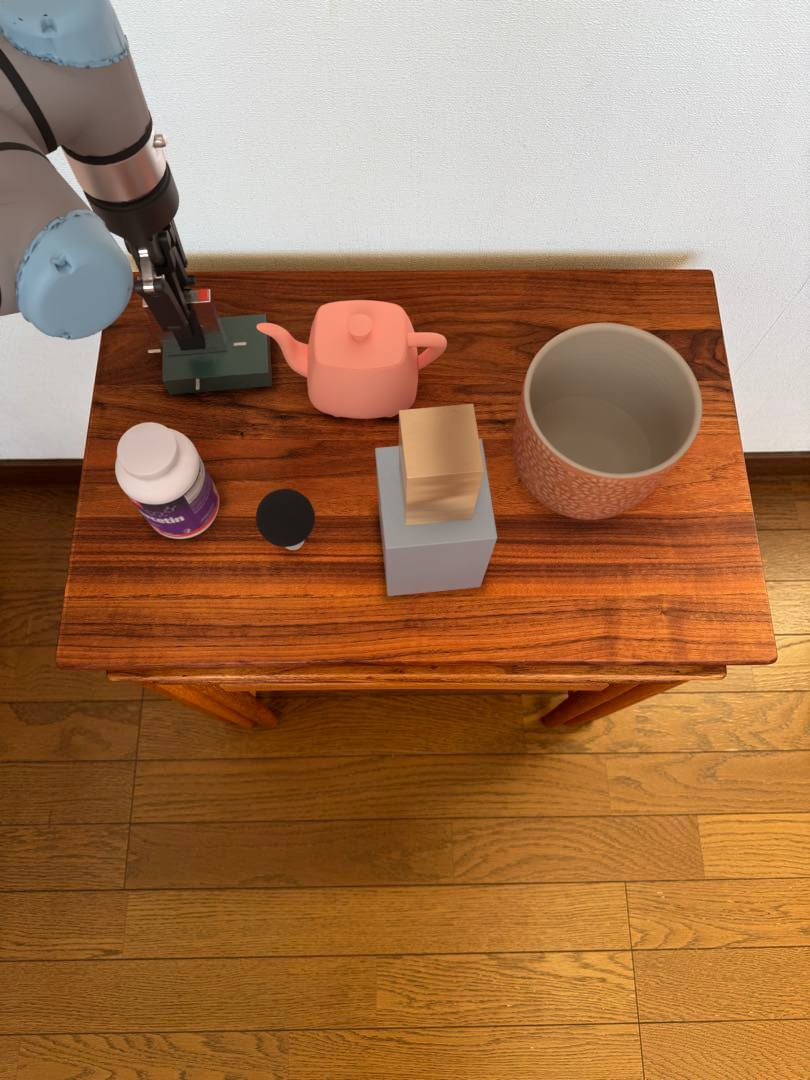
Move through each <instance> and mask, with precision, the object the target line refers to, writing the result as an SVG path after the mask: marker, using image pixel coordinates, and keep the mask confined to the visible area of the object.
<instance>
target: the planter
mask: <svg viewBox="0 0 810 1080" xmlns="http://www.w3.org/2000/svg"><path fill="white" fill-rule="evenodd" d="M702 420H703V397H702V392H701V389H700V386H699V383H698V380H697V378H696V376H695V374H694V371H693V370H692V369H691V367H690V365H689V364H688V363H687V361H686V360H685V359H684V358H683V356H681V354H680V353H679V352H678V351H677V350H676V349H675V348H673V346H672V345H670V344H669V343H667V342H666V341H664V340H663V339H662V338H660V337H658V336H656V335H655V334H652V333H650V332H649V331H646V330H643V329H641V328H639V327H635V326H631V325H627V324H622V323H614V322H595V323H594V322H593V323H587V324H581V325H579V326H575V327H572V328H570V329H568V330H564V331H563V332H561V333H559V334H558V335H557V334H556V336H554V337H552V338H551V339H550V340H549V341H547V343H545V344H544V345H543V346H542V347H541V348H540V349H539V351H538V352H537V353H536V354H535V355H534V357H533V358H532V360H531V362H530V364H529V366H528V369H527V371H526V374H525V377H524V380H523V384H522V388H521V391H520V396H519V402H518V405H517V410H516V414H515V420H514V425H513V432H512V454H513V455H512V456H513V462H514V464H515V467H516V471H517V473H518V475H519V478H520V480H521V482H522V484H523V486H525V488H526V489H527V490H528V492H529V493H530V494H531V495H532V496H533V497H534V498H535V499H536V500H537V501H538V502H539V503H540V504H542V505H543V506H544V507H546V508H548V509H549V510H551V511H552V512H555V513H557V514H559V515H561V516H564V517H568V518H572V519H577V520H582V521H583V520H584V521H597V520H604V519H610V518H613V517H616V516H619V515H621V514H623V513H624V514H625V513H626V512H628V511H630V510H631V509H632V508H634V507H636V506H638V505H639V504H640V503H641V502H643V501H644V500H645V499H646V498H648V496H649V495H651V494H652V493H653V492H654V491H655V490H656V489H657V488H658V486H659V485H660V484H661V483H662V482H663V481H664V480H665V479H666V477H667V476H668V475H669V474H670V473H671V471H672V470H673V469H674V468H675V467H676V466H677V465H678V463H679V462H680V461H681V460H682V458H684V456H685V455H686V453H687V452H688V451H689V449H690V448H691V447H692V445H693V444H694V442H695V440H696V439H697V436H698V433H699V431H700V428H701V425H702Z"/></svg>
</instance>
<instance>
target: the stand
mask: <svg viewBox="0 0 810 1080" xmlns="http://www.w3.org/2000/svg"><path fill="white" fill-rule="evenodd" d="M479 443H480V450H481V456H482V462H483V469H484V472H483V476H482V480H481V484H480V488H479V492H478V497H477V501H476V505H475V509H474V513H473V517H472V519H469V520H458V521H448V522H437V523H426V524H416V525H405V516H404V508H403V499H402V490H401V481H400V472H399V445H394V446H382V447H375V448H374V453H375V454H374V455H375V468H376V469H375V472H376V485H377V486H376V487H377V489H376V490H377V503H378V517H379V525H380V536H381V537H380V538H381V546H382V548H381V549H382V556H383V566H384V577H385V587H386V596H387V597H393V596H395V597H396V596H404V595H415V594H424V593H425V594H427V593H435V592H446V591H456V590H467V589H475V588H476V589H477V588H481V587H482V583H483V581H484V577H485V575H486V572H487V570H488V566H489V563H490V560H491V557H492V555H493V551H494V548H495V547H496V546H495V545H496V543H497V540H498V532H497V526H496V520H495V514H494V507H493V501H492V495H491V488H490V487H491V486H490V482H489V475H488V467H487V461H486V455H485V449H484V443H483V439H482V438H479Z"/></svg>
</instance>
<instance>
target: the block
mask: <svg viewBox="0 0 810 1080" xmlns="http://www.w3.org/2000/svg"><path fill="white" fill-rule="evenodd" d="M477 424H478V423H477V419H476V411H475V404H474V403H467V404H454V405H444V406H431V407H421V408H409V409H407V410H399V414H398V446H399V472H400V481H401V490H402V499H403V508H404V516H405V525H416V524H426V523H437V522H448V521H458V520H469V519H472V517H473V513H474V509H475V505H476V501H477V497H478V492H479V488H480V484H481V480H482V476H483V472H484V469H483V462H482V456H481V450H480V443H479V439H480V437H479V432H478V425H477Z"/></svg>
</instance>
